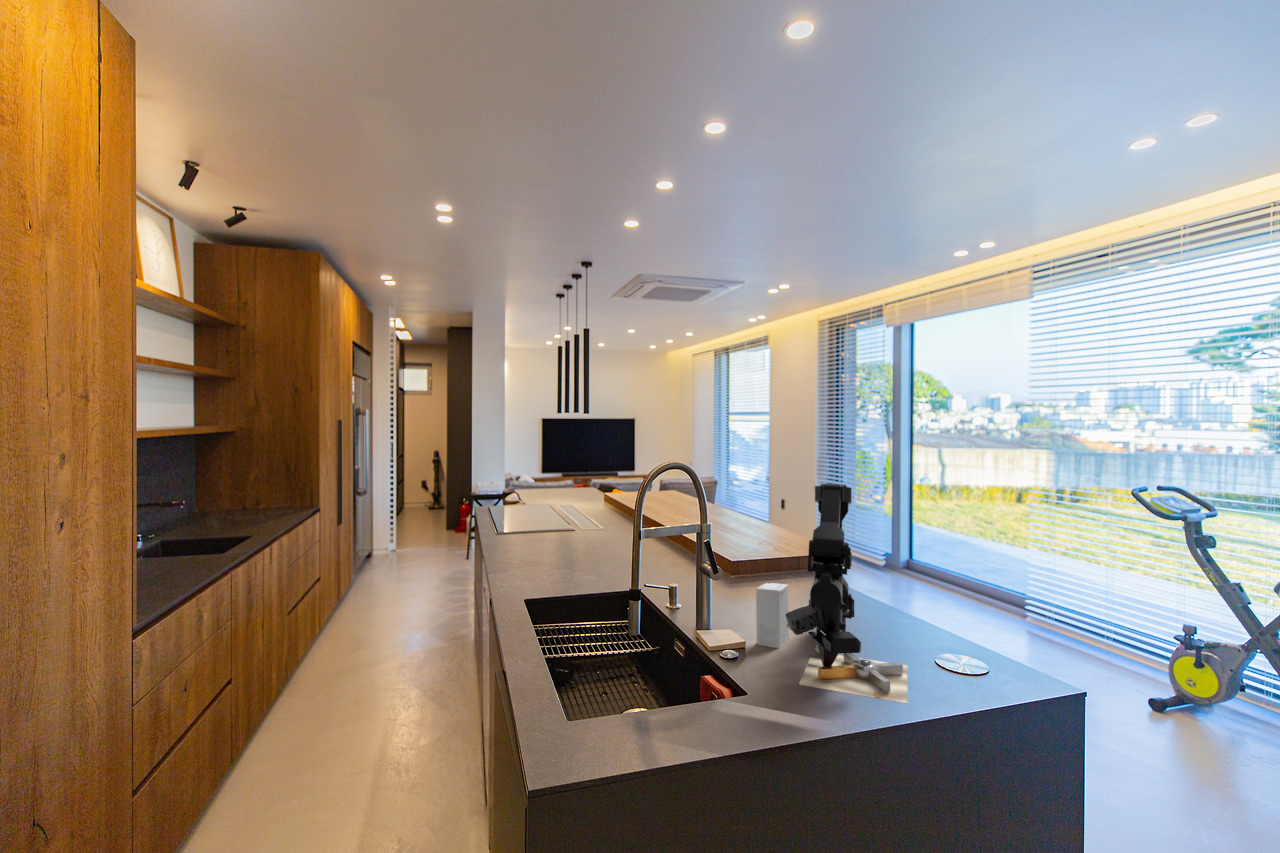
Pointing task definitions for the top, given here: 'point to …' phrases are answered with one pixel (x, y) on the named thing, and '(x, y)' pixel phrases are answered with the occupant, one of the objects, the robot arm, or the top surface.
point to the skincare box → (772, 614)
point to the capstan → (862, 671)
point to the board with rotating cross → (854, 681)
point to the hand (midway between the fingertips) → (826, 670)
